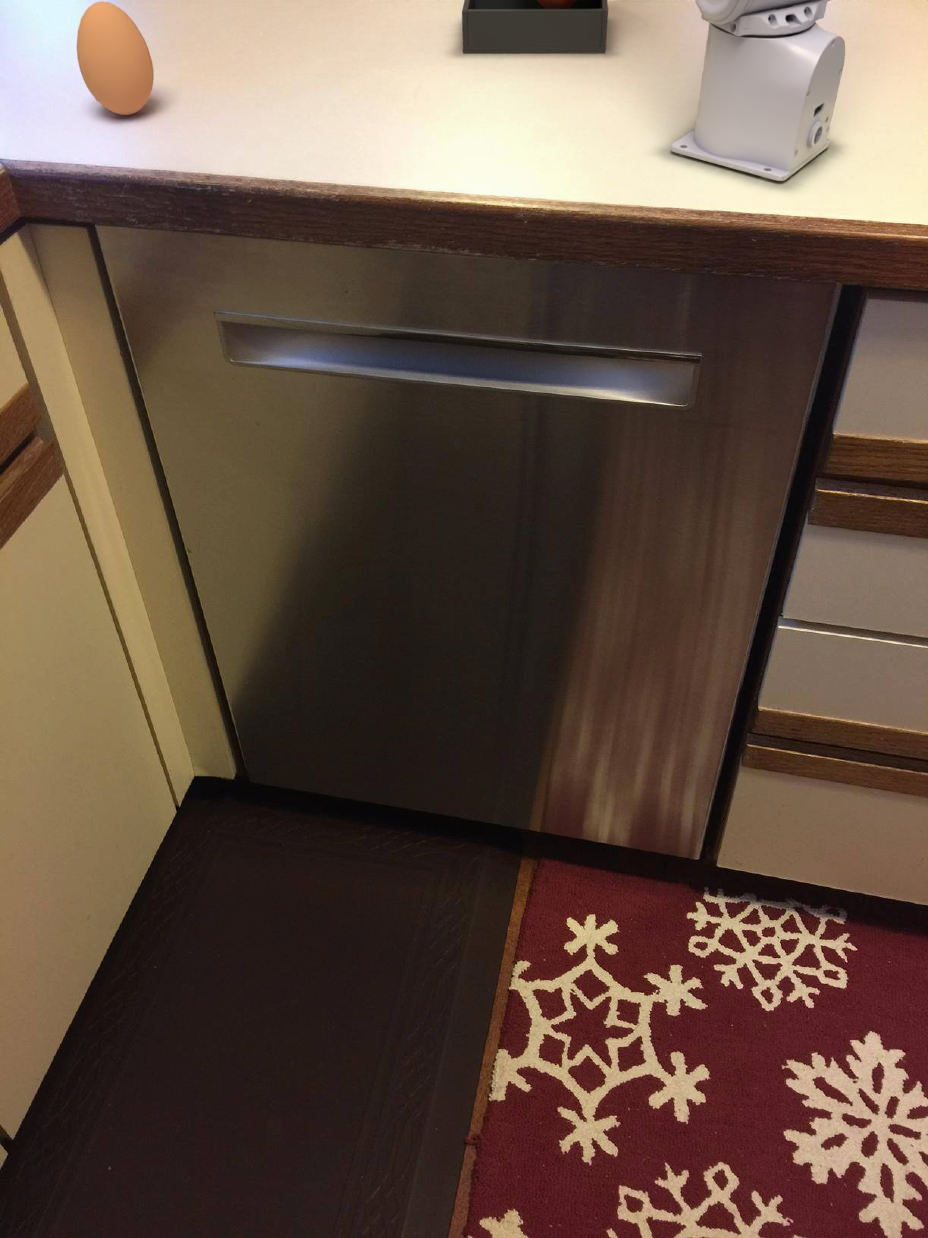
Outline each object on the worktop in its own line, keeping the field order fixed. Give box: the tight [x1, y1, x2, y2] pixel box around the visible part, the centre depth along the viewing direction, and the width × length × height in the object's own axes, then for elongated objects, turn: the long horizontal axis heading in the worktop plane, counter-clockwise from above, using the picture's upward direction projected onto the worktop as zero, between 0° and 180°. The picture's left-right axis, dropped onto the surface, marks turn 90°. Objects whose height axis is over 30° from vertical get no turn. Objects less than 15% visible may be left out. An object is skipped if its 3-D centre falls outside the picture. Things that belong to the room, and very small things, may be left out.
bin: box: [461, 0, 609, 54], centre depth 96 cm, size 13×8×4 cm, turn 86°
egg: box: [76, 0, 155, 116], centre depth 84 cm, size 6×6×8 cm
